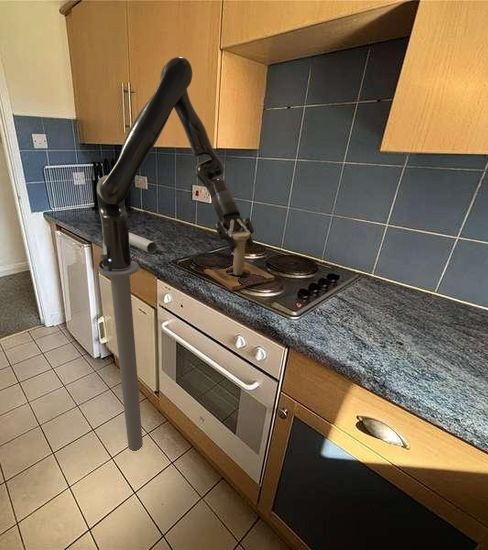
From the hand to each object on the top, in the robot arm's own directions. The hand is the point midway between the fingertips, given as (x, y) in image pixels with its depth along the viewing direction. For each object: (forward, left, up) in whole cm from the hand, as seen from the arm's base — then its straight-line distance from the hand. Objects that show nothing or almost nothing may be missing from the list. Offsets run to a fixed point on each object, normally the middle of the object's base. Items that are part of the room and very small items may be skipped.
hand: (242, 246), depth 103 cm
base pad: (0, +2, -11) cm, 12 cm away
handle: (0, +2, -11) cm, 11 cm away
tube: (-21, +51, -12) cm, 56 cm away
